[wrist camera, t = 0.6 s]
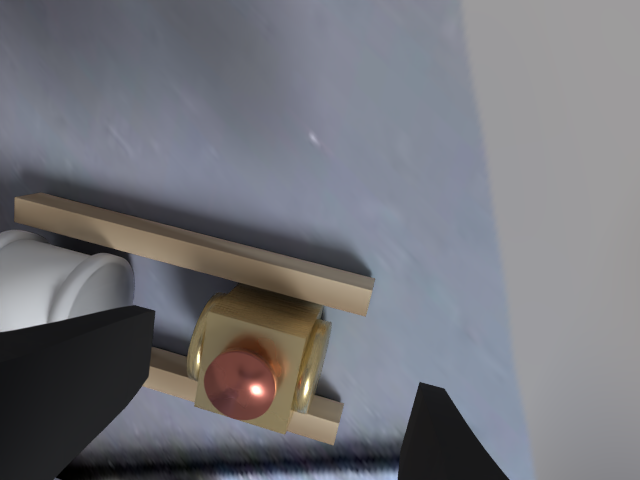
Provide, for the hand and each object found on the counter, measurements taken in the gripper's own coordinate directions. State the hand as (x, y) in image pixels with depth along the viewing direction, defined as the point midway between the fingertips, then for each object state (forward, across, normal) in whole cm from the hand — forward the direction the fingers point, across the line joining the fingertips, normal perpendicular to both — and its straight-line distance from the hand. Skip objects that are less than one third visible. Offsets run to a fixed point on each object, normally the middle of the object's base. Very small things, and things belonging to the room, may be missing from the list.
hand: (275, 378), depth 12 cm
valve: (+10, +2, +4) cm, 10 cm away
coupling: (+10, +12, +4) cm, 16 cm away
